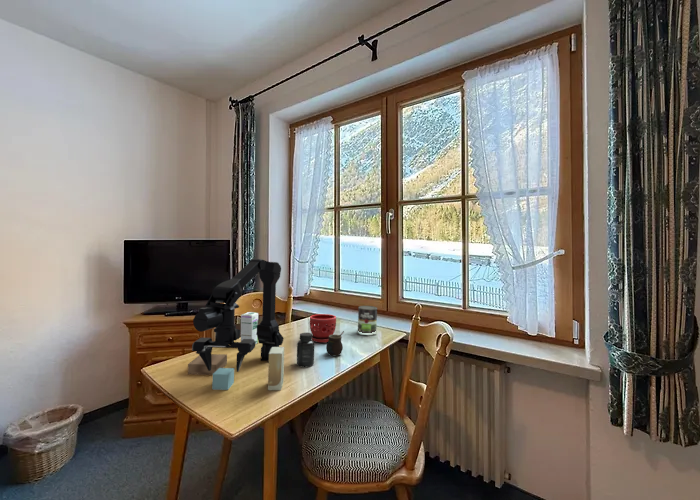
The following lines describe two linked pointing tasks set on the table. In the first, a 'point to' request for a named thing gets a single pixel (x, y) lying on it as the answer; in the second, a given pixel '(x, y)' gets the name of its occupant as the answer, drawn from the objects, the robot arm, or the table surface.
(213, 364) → the walnut block
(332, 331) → the plant pot
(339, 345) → the mate gourd
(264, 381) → the table surface
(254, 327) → the syrup box
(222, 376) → the teal cube
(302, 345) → the supplement bottle
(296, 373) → the table surface
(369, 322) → the coffee can
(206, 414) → the table surface
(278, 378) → the skincare box
